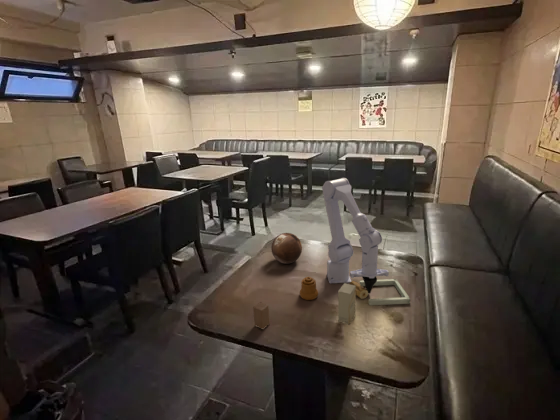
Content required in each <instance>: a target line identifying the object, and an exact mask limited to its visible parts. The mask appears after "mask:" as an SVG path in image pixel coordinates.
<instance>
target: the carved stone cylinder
mask: <svg viewBox="0 0 560 420" xmlns="http://www.w3.org/2000/svg"><path fill="white" fill-rule="evenodd" d="M349 284H351V285H355V286H356V297H358V298H359V299H361V300H363V299H365V298H367V297H368V295H369V294H368V291H367V290H366V287H365V286H361V285H360V282H357V281H355V280H351V282H349Z"/></svg>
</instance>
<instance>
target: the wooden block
mask: <svg viewBox="0 0 560 420" xmlns="http://www.w3.org/2000/svg"><path fill="white" fill-rule="evenodd" d="M252 311H253V323H254V326H255V325H257V326H259V327H260V328H264V327H265V326H267V325H268V324H269V323H270V324H271V321H270V320H271V319H270V307H269V305H268V304H267V303H264V302H262V301H260V302H258V303H257V304H255V305H254V306H253V308H252ZM270 324H269V325H270ZM269 325H268V326H269ZM268 326H267V327H268Z"/></svg>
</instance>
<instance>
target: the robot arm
mask: <svg viewBox="0 0 560 420" xmlns="http://www.w3.org/2000/svg"><path fill="white" fill-rule="evenodd" d="M321 189H322V194H323V199H324V205H325V210H326V216H327V220H328V225H329V230H330V235H331V241H330V242H329V244H328V247H327V249H328V252H327V254H328V259H329V260H328V259H327V260H326V276H327V279H328V283H329V284H344V283H347V284H350V283H351V282H352V279H354V278H362V281H363V280H364V283H365V286H364V287H365V289H366V290H367V291H368V295H369V294H371V292H372V291H373V290H372V289H373V288H374V284H375V283H376V282H377V280H378V278H377V277H380V276H381V277H382V276H383V277H389V273H390V272H389V270H388V269H381V268H378V258H379V257H378V256H379V245H380V244H381V243H382V241H383V237H382V235H381V233H380V231H378V230H377V229H376V228H374V227H373V226H372V224H371V222H370V220H369V218H368V216H367V215H366V214H365V213H362V212H361V211H360V209H359V206H358V204H357V202H356V200H355V198H354V195H353V193H352V185H351V184H350V182H349V179H347V178H346V177H340V178H338V179H333V180H326V181H325V182H324V183H323V185H322V187H321ZM339 201H341V202H342V203H343V204H344V206H345V208H346V209H347V210H348V211H349V212H348V213H350V215H351V216H352V218H351V223H352V224H353V225H352V226H354V228H355V230H356V232H357V233H358V235H359V237H360V238H358V241H359V245H360V249H361V268H360V269H359V268H358V269H356V270H350V261H351V257H353V255H354V249H353V246H352V244H351V241H350V240H349V238H346V237H345V231H344V226H343V220H342V216H341V211H340V210H341V209H340V206H339Z"/></svg>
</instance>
